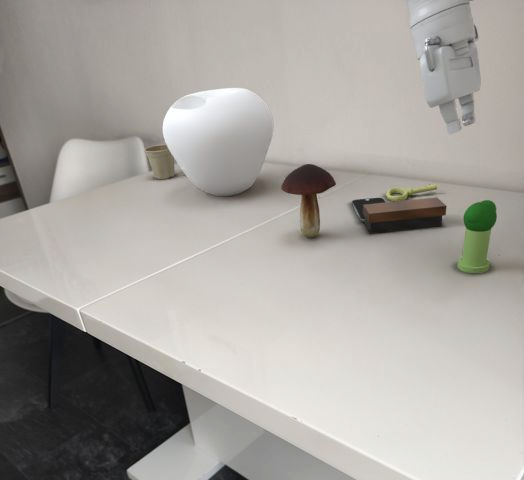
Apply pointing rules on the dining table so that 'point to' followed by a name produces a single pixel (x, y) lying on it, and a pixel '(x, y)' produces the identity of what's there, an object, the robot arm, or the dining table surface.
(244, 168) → the vase
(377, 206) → the brush
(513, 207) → the dining table surface
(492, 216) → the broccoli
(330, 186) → the decorative mushroom
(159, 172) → the flower pot
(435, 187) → the key
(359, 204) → the smartphone
